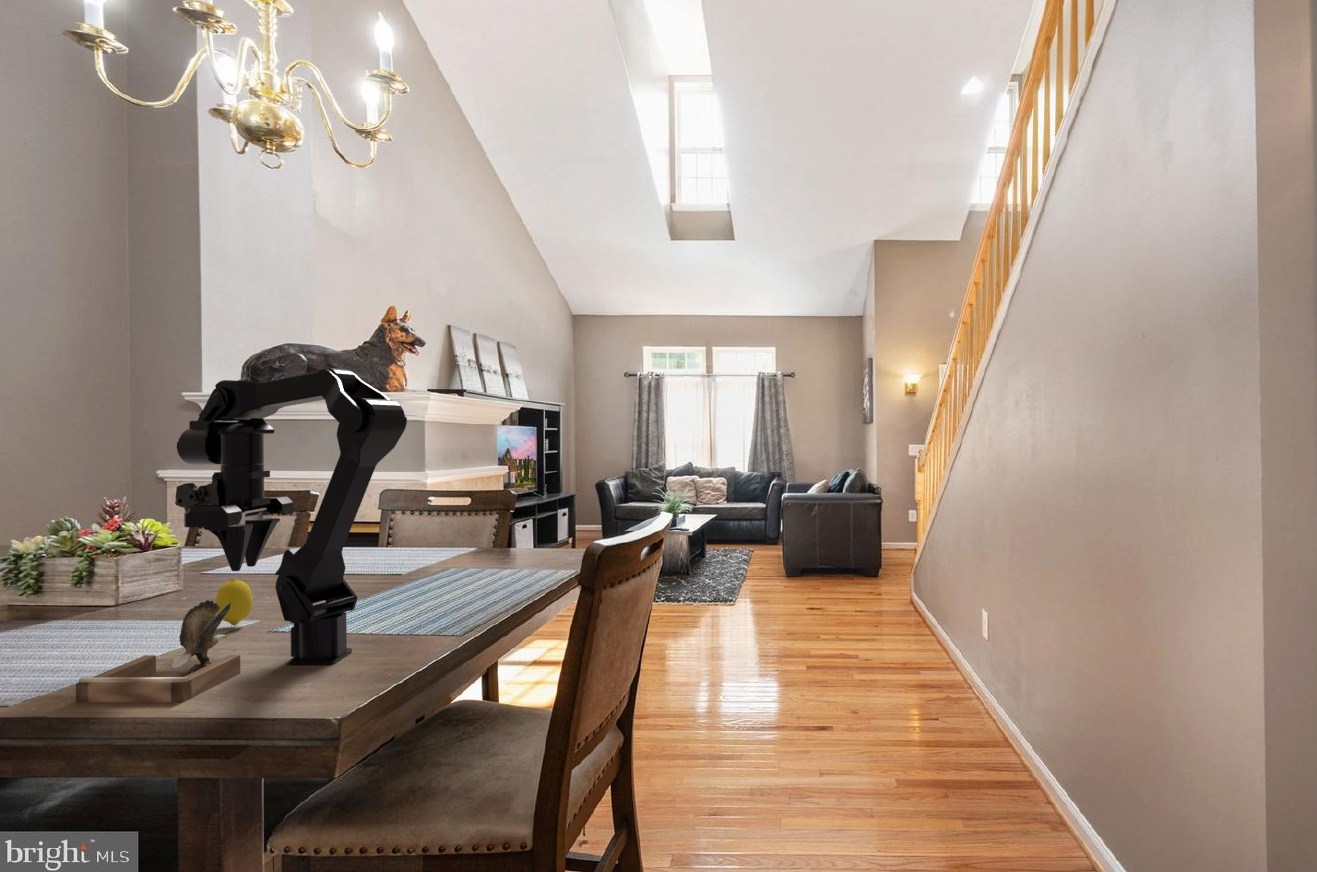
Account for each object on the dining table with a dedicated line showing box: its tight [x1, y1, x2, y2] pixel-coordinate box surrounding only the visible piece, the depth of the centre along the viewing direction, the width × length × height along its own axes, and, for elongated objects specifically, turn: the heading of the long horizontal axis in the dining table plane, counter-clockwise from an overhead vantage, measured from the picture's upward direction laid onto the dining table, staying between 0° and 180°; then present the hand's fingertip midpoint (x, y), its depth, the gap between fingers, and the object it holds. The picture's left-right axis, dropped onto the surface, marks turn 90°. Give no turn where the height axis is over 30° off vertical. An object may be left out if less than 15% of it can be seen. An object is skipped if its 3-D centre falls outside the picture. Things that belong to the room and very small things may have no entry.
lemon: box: [214, 577, 254, 626], centre depth 126 cm, size 6×6×8 cm
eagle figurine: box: [171, 600, 231, 674], centre depth 102 cm, size 8×7×9 cm
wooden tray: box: [75, 654, 241, 703], centre depth 94 cm, size 13×12×3 cm
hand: (243, 568), depth 112 cm, fingers open, 4 cm apart
